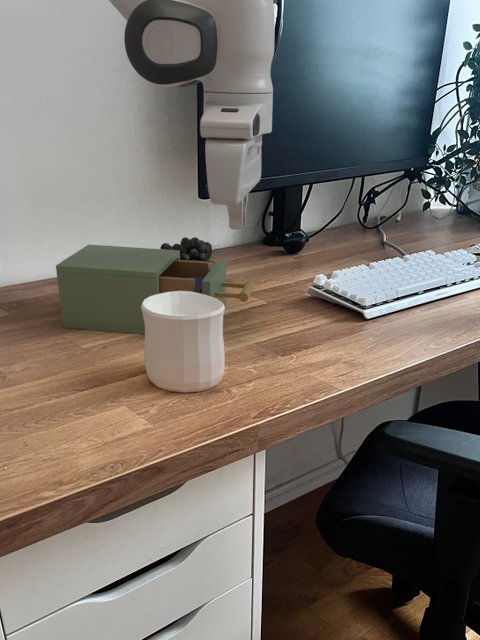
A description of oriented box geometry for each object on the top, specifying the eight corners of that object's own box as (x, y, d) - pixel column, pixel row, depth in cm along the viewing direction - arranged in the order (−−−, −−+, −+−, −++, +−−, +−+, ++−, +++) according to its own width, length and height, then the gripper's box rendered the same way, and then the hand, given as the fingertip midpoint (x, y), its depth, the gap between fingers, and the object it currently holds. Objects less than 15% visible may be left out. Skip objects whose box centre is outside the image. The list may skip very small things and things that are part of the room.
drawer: (256, 309, 107) (258, 262, 103) (244, 334, 97) (245, 284, 94) (142, 300, 109) (139, 254, 106) (119, 324, 100) (115, 274, 96)
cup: (157, 360, 91) (154, 287, 86) (232, 366, 90) (232, 293, 85) (135, 389, 83) (129, 311, 78) (216, 397, 81) (216, 318, 77)
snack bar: (199, 291, 98) (178, 289, 98) (199, 318, 100) (179, 316, 100) (209, 277, 104) (190, 276, 104) (210, 303, 106) (191, 302, 106)
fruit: (122, 236, 112) (215, 234, 113) (128, 241, 120) (214, 239, 121) (125, 290, 114) (216, 288, 115) (131, 292, 122) (216, 290, 123)
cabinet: (181, 308, 110) (179, 250, 105) (159, 335, 99) (156, 272, 94) (93, 301, 111) (88, 244, 107) (62, 327, 101) (55, 265, 96)
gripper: (229, 110, 98) (229, 211, 105) (196, 122, 81) (198, 242, 87) (273, 112, 97) (270, 213, 104) (249, 124, 80) (247, 245, 87)
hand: (237, 227), depth 96 cm, fingers closed
